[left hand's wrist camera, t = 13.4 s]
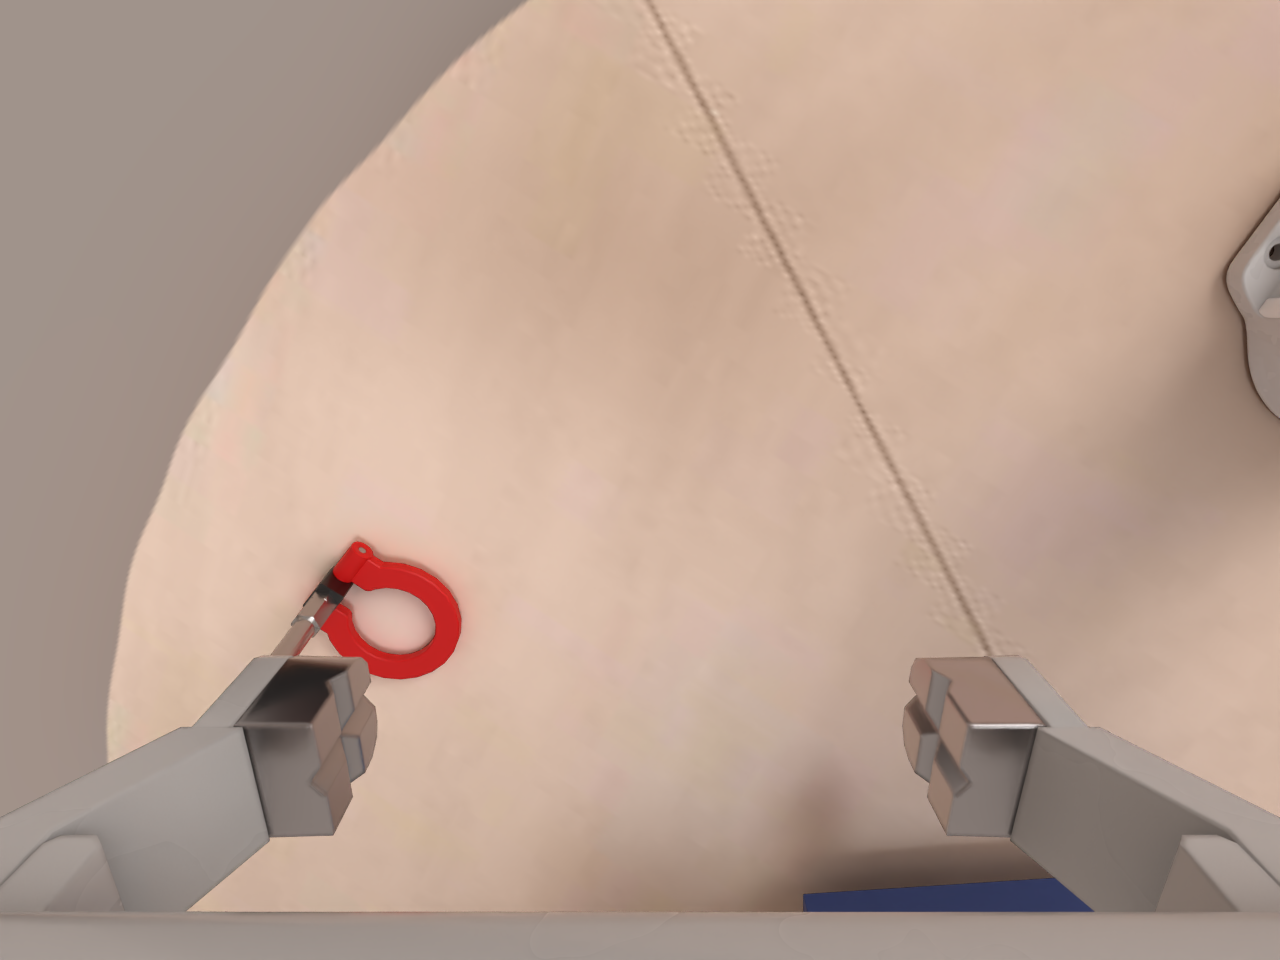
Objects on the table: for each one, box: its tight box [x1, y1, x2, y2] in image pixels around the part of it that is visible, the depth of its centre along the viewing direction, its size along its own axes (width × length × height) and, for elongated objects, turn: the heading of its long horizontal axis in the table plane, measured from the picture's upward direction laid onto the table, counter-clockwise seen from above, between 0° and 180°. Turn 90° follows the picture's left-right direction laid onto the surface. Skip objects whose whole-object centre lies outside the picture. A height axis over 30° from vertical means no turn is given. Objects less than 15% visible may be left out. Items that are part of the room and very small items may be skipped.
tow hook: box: [270, 542, 461, 679], centre depth 39 cm, size 8×13×9 cm
